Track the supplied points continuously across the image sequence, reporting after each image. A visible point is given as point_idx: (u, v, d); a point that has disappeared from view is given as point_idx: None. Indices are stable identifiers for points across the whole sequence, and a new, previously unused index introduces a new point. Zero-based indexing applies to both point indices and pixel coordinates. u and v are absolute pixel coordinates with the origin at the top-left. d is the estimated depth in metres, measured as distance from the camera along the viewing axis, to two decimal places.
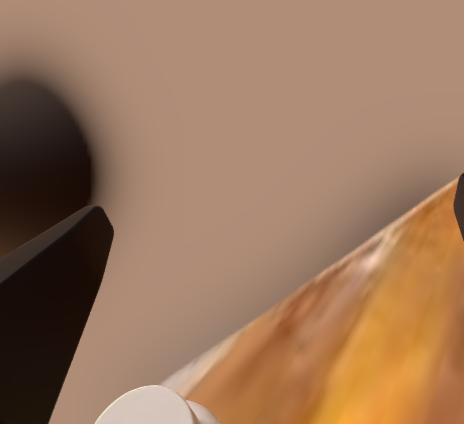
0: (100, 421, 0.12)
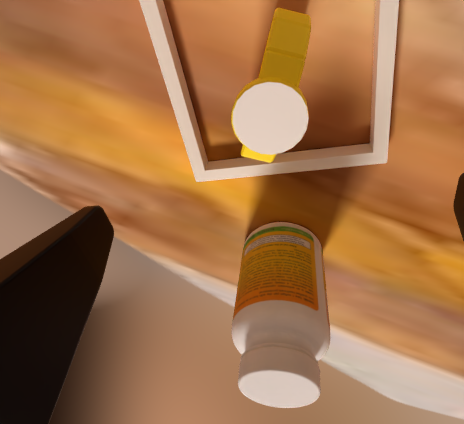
0: (270, 405, 0.18)
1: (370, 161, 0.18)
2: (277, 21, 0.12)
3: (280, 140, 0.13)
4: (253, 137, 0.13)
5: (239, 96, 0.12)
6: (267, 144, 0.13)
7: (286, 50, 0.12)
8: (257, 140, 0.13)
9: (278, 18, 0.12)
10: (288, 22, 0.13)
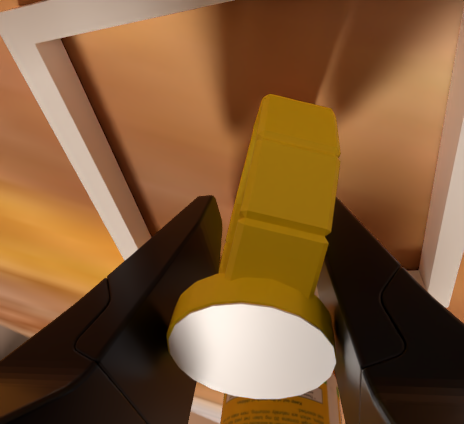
0: None
1: None
2: (266, 143, 0.06)
3: (273, 379, 0.06)
4: (216, 375, 0.06)
5: (179, 317, 0.05)
6: (246, 386, 0.06)
7: (286, 218, 0.05)
8: (225, 380, 0.06)
9: (269, 134, 0.06)
10: (291, 143, 0.06)
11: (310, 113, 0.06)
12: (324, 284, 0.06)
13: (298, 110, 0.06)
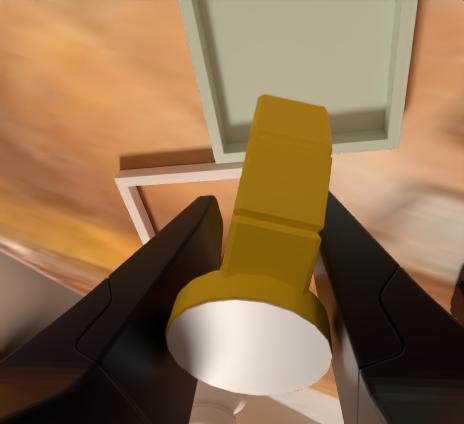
0: None
1: None
2: (258, 142, 0.06)
3: (272, 375, 0.06)
4: (216, 372, 0.06)
5: (176, 314, 0.06)
6: (246, 382, 0.06)
7: (279, 215, 0.05)
8: (224, 376, 0.06)
9: (261, 133, 0.06)
10: (283, 141, 0.06)
11: (303, 112, 0.06)
12: (323, 284, 0.06)
13: (291, 109, 0.06)
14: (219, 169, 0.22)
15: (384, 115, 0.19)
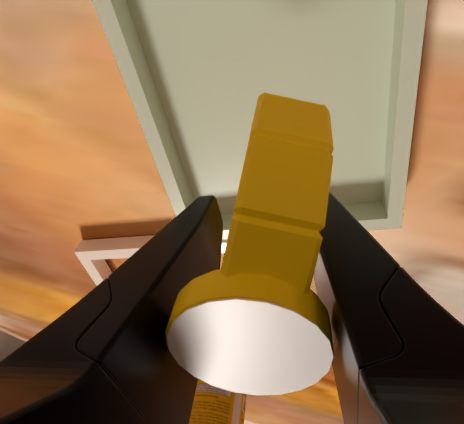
0: None
1: None
2: (259, 140, 0.06)
3: (273, 376, 0.06)
4: (216, 372, 0.06)
5: (177, 314, 0.05)
6: (246, 382, 0.06)
7: (280, 214, 0.05)
8: (225, 376, 0.06)
9: (261, 132, 0.06)
10: (284, 140, 0.06)
11: (304, 110, 0.06)
12: (323, 284, 0.06)
13: (291, 108, 0.06)
14: None
15: (382, 188, 0.16)
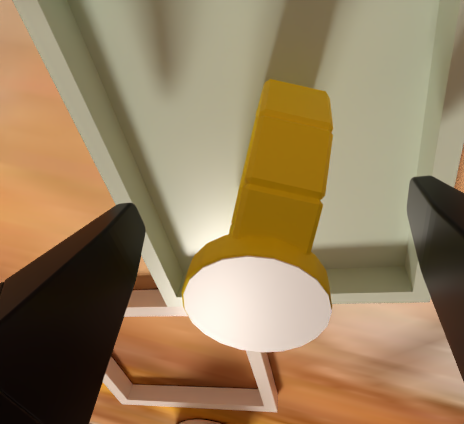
0: None
1: (263, 410, 0.21)
2: (267, 119, 0.06)
3: (276, 333, 0.07)
4: (226, 329, 0.07)
5: (193, 272, 0.06)
6: (253, 339, 0.07)
7: (285, 183, 0.06)
8: (234, 333, 0.07)
9: (269, 112, 0.06)
10: (289, 119, 0.06)
11: (306, 95, 0.07)
12: None
13: (295, 92, 0.07)
14: None
15: (406, 251, 0.13)
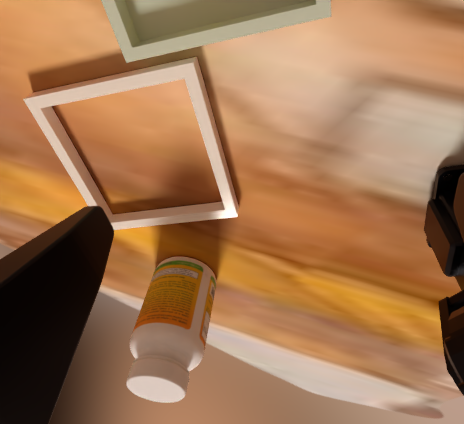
0: (156, 400, 0.24)
1: (225, 215, 0.24)
2: None
3: None
4: None
5: None
6: None
7: None
8: None
9: None
10: None
11: None
12: None
13: None
14: (136, 74, 0.19)
15: None
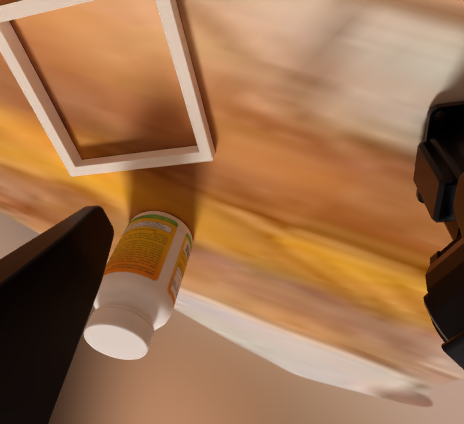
0: (117, 357, 0.22)
1: (199, 159, 0.22)
2: None
3: None
4: None
5: None
6: None
7: None
8: None
9: None
10: None
11: None
12: None
13: None
14: None
15: None
